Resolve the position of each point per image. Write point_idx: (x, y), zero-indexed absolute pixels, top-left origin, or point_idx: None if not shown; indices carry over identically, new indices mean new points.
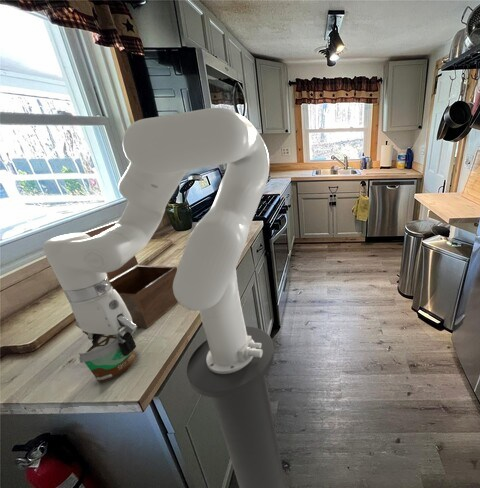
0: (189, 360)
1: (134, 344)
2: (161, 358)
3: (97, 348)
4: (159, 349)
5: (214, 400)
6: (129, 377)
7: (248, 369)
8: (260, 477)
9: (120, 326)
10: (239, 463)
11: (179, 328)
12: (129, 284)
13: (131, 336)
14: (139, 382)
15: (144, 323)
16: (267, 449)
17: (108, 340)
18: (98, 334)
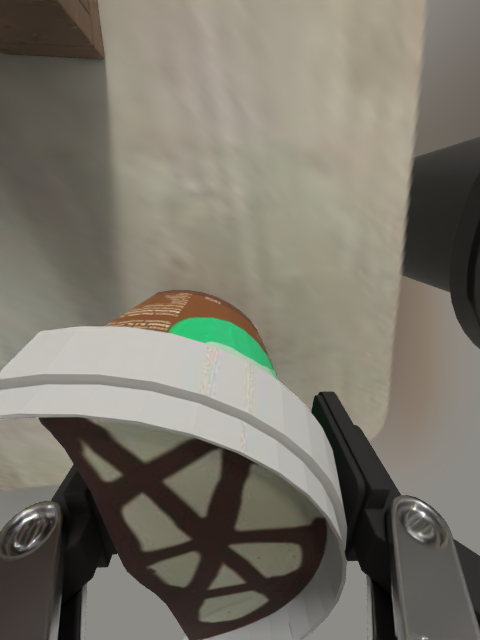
0: (477, 277)
1: (340, 410)
2: (374, 307)
3: (232, 605)
4: (332, 256)
5: (444, 288)
6: (298, 396)
7: None
8: None
9: (173, 432)
10: None
11: (364, 37)
12: None
13: (378, 474)
14: (350, 408)
15: (64, 27)
16: None
17: (239, 559)
18: (82, 562)
